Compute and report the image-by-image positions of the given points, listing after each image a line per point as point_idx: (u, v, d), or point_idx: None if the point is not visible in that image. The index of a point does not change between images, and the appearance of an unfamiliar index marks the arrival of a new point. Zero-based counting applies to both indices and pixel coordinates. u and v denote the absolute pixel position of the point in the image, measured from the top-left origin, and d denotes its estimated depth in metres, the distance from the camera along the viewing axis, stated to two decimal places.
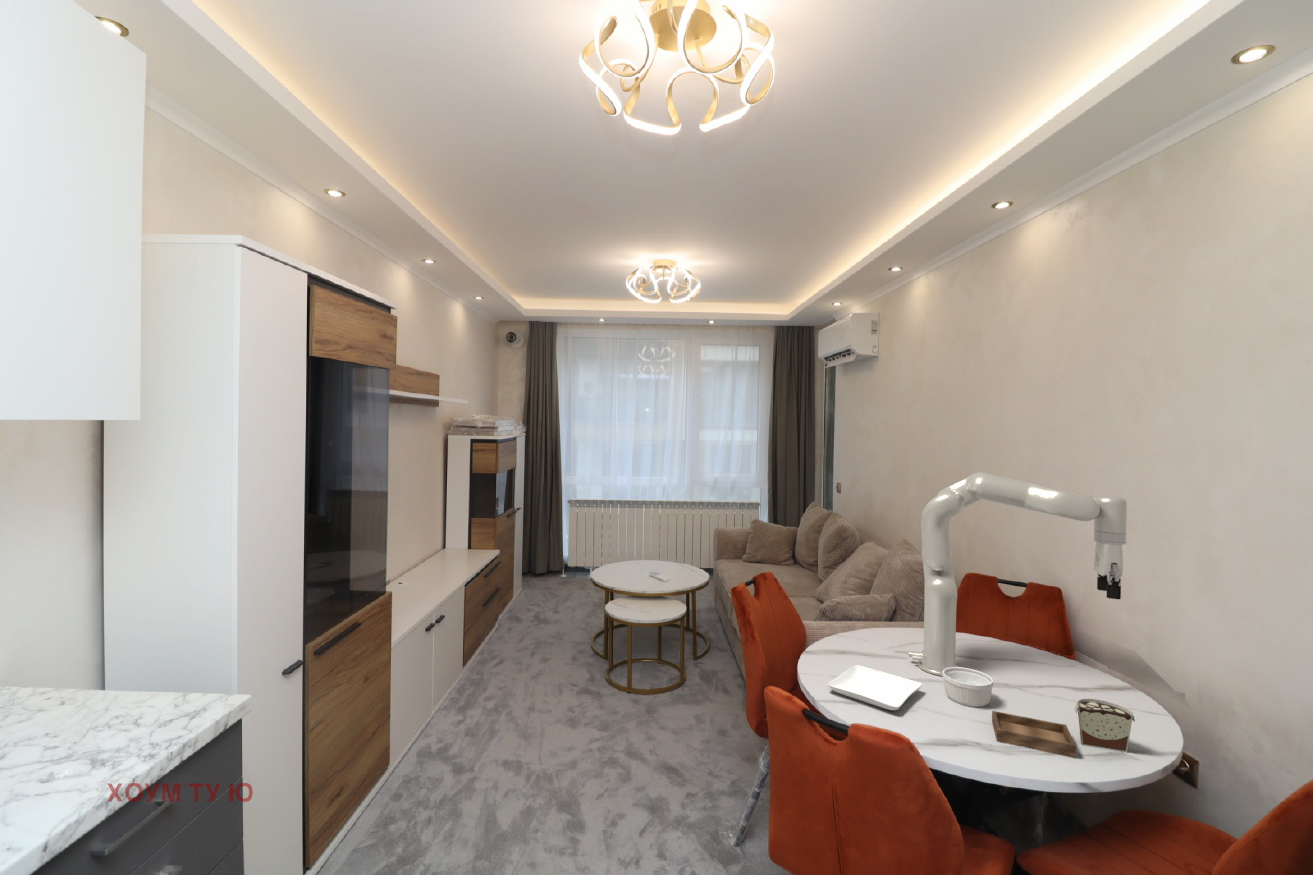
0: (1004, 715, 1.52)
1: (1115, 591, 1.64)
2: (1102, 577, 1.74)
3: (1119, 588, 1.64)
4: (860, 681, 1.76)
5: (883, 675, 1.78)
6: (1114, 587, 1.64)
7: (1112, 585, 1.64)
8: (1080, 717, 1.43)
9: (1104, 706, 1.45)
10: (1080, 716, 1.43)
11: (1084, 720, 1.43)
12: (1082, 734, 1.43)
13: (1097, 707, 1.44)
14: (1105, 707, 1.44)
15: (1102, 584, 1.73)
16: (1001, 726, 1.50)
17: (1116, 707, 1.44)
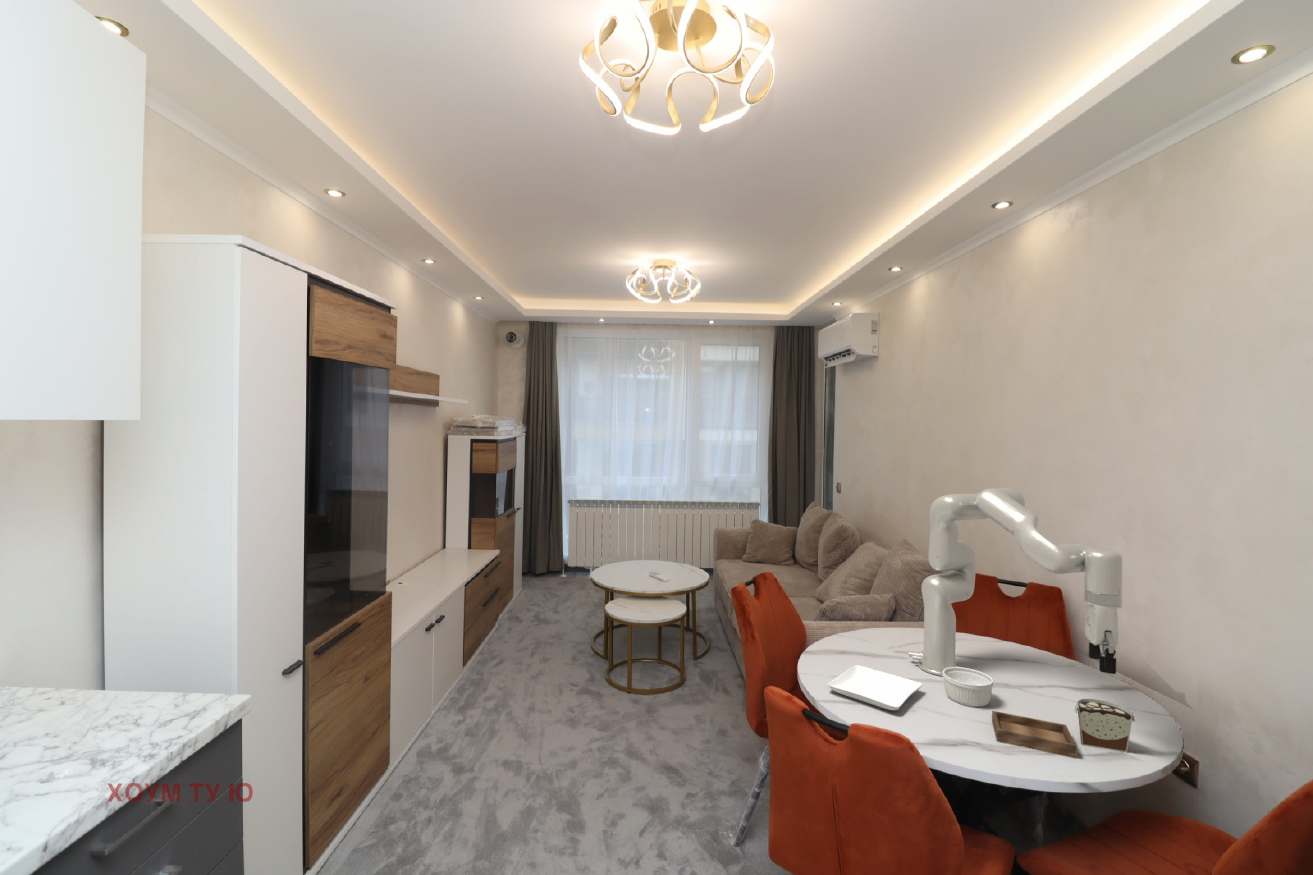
0: (1004, 715, 1.52)
1: (1109, 664, 1.39)
2: None
3: (1114, 661, 1.39)
4: (860, 681, 1.76)
5: (883, 675, 1.78)
6: (1108, 659, 1.39)
7: (1106, 657, 1.39)
8: (1080, 717, 1.43)
9: (1104, 706, 1.45)
10: (1080, 716, 1.43)
11: (1084, 720, 1.43)
12: (1082, 734, 1.43)
13: (1097, 707, 1.44)
14: (1105, 707, 1.44)
15: (1094, 652, 1.48)
16: (1001, 726, 1.50)
17: (1116, 707, 1.44)
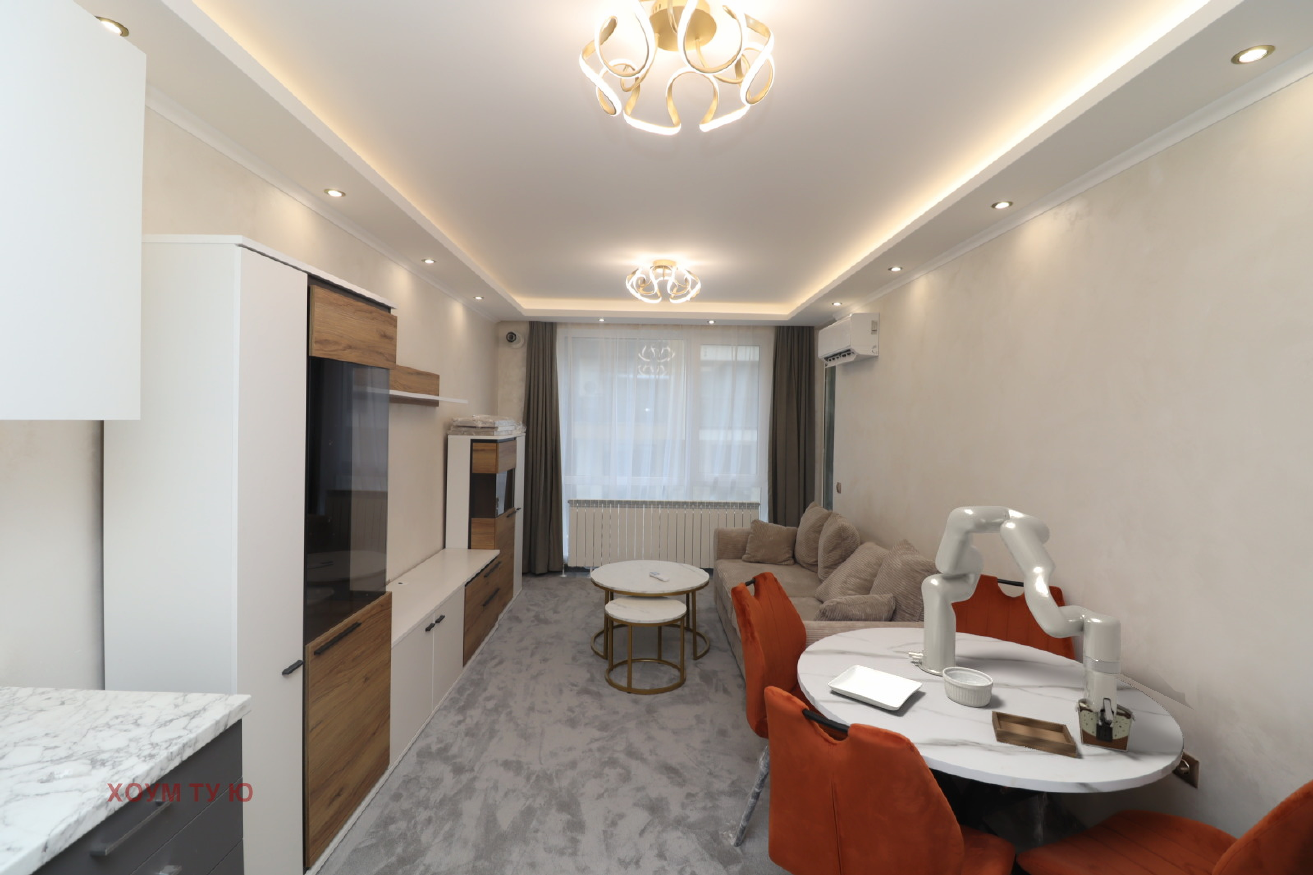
0: (1004, 715, 1.52)
1: (1106, 733, 1.40)
2: None
3: (1111, 729, 1.40)
4: (860, 681, 1.76)
5: (883, 675, 1.78)
6: (1105, 728, 1.40)
7: (1102, 726, 1.40)
8: (1080, 716, 1.43)
9: None
10: (1080, 715, 1.43)
11: (1084, 719, 1.43)
12: (1082, 733, 1.43)
13: None
14: None
15: None
16: (1001, 726, 1.50)
17: None
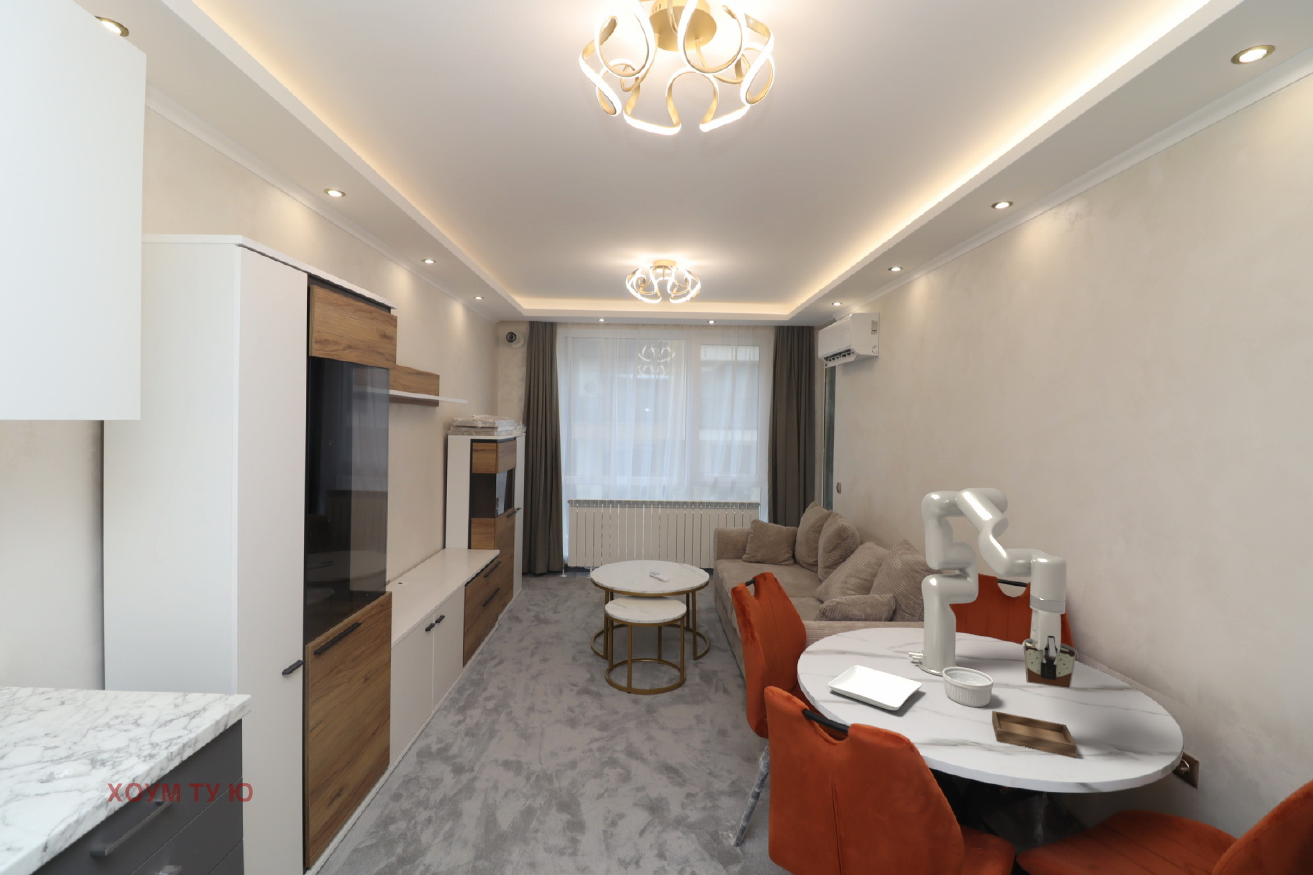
0: (1004, 715, 1.52)
1: (1050, 671, 1.42)
2: None
3: (1054, 667, 1.42)
4: (860, 681, 1.76)
5: (883, 675, 1.78)
6: (1049, 666, 1.42)
7: (1046, 664, 1.42)
8: (1026, 655, 1.45)
9: None
10: (1025, 654, 1.45)
11: (1030, 658, 1.44)
12: (1027, 672, 1.45)
13: None
14: None
15: None
16: (1001, 726, 1.50)
17: (1061, 646, 1.45)
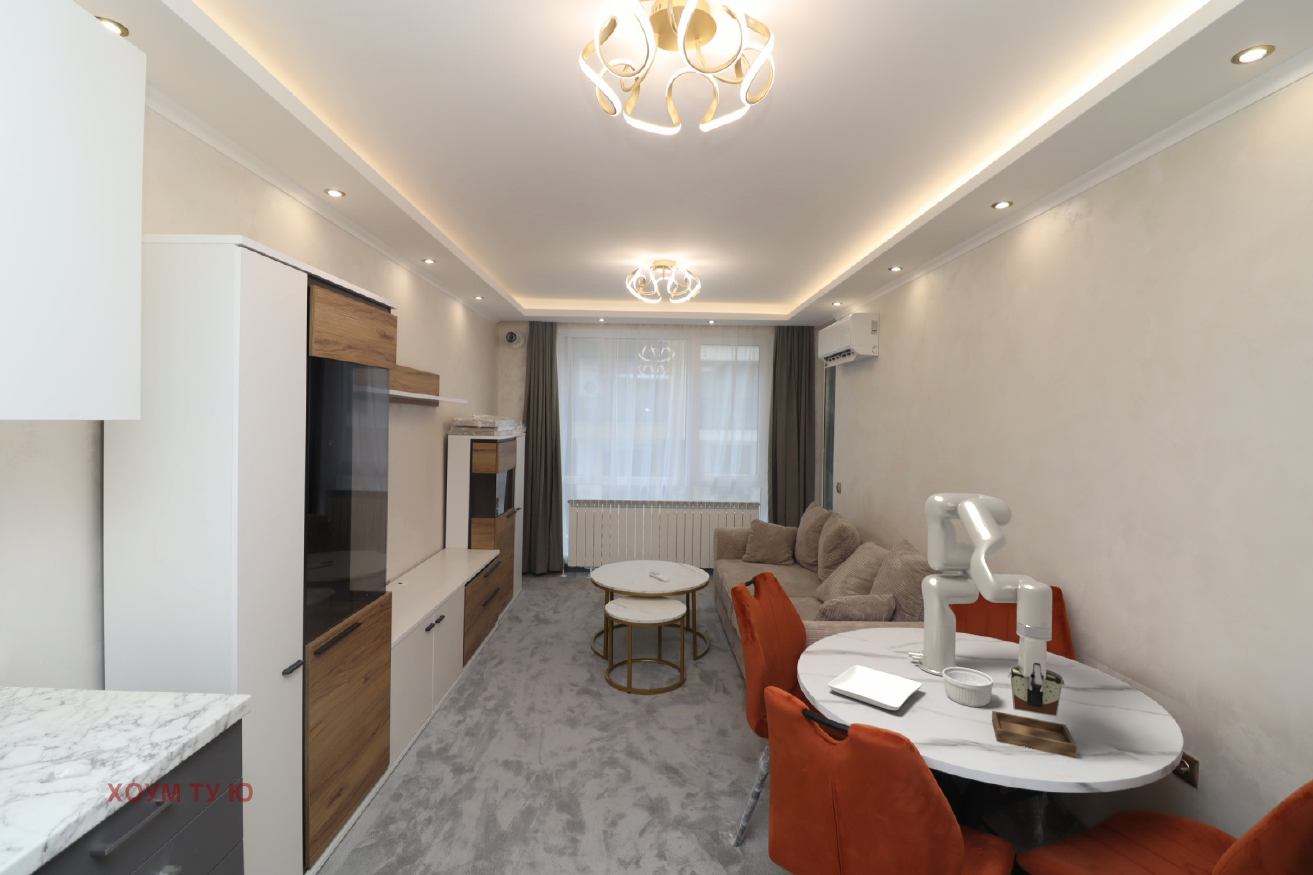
0: (1004, 715, 1.52)
1: (1036, 698, 1.42)
2: None
3: (1041, 694, 1.42)
4: (860, 681, 1.76)
5: (883, 675, 1.78)
6: (1035, 693, 1.42)
7: (1033, 691, 1.42)
8: (1012, 682, 1.45)
9: None
10: (1012, 681, 1.45)
11: (1016, 685, 1.44)
12: (1014, 699, 1.45)
13: None
14: None
15: None
16: (1001, 726, 1.50)
17: (1048, 672, 1.45)
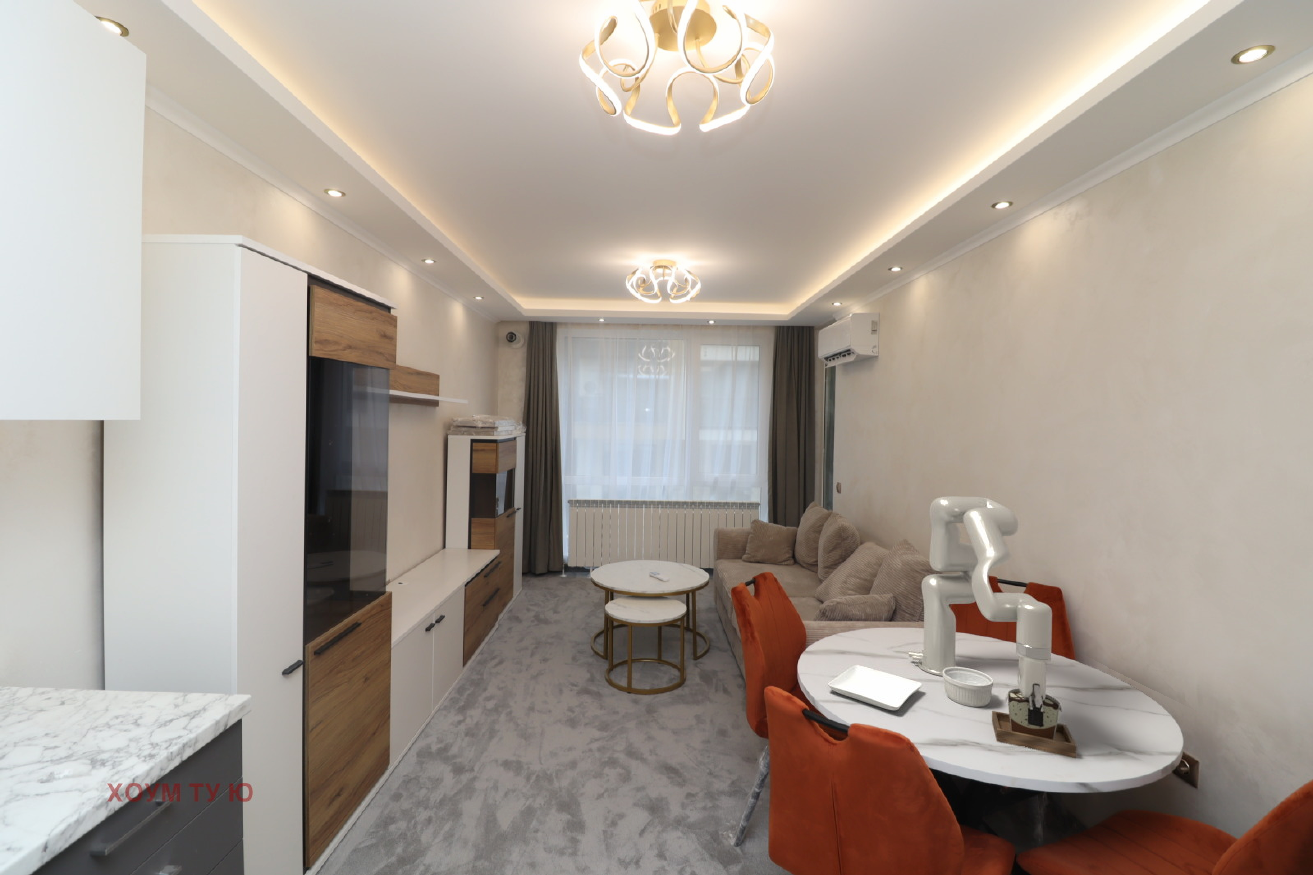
0: (1004, 715, 1.52)
1: (1037, 717, 1.40)
2: None
3: (1041, 714, 1.40)
4: (860, 681, 1.76)
5: (883, 675, 1.78)
6: (1036, 713, 1.40)
7: (1033, 710, 1.40)
8: (1009, 706, 1.46)
9: None
10: (1009, 706, 1.46)
11: (1013, 709, 1.46)
12: (1011, 723, 1.46)
13: (1027, 697, 1.46)
14: None
15: None
16: (1001, 726, 1.50)
17: (1046, 697, 1.46)
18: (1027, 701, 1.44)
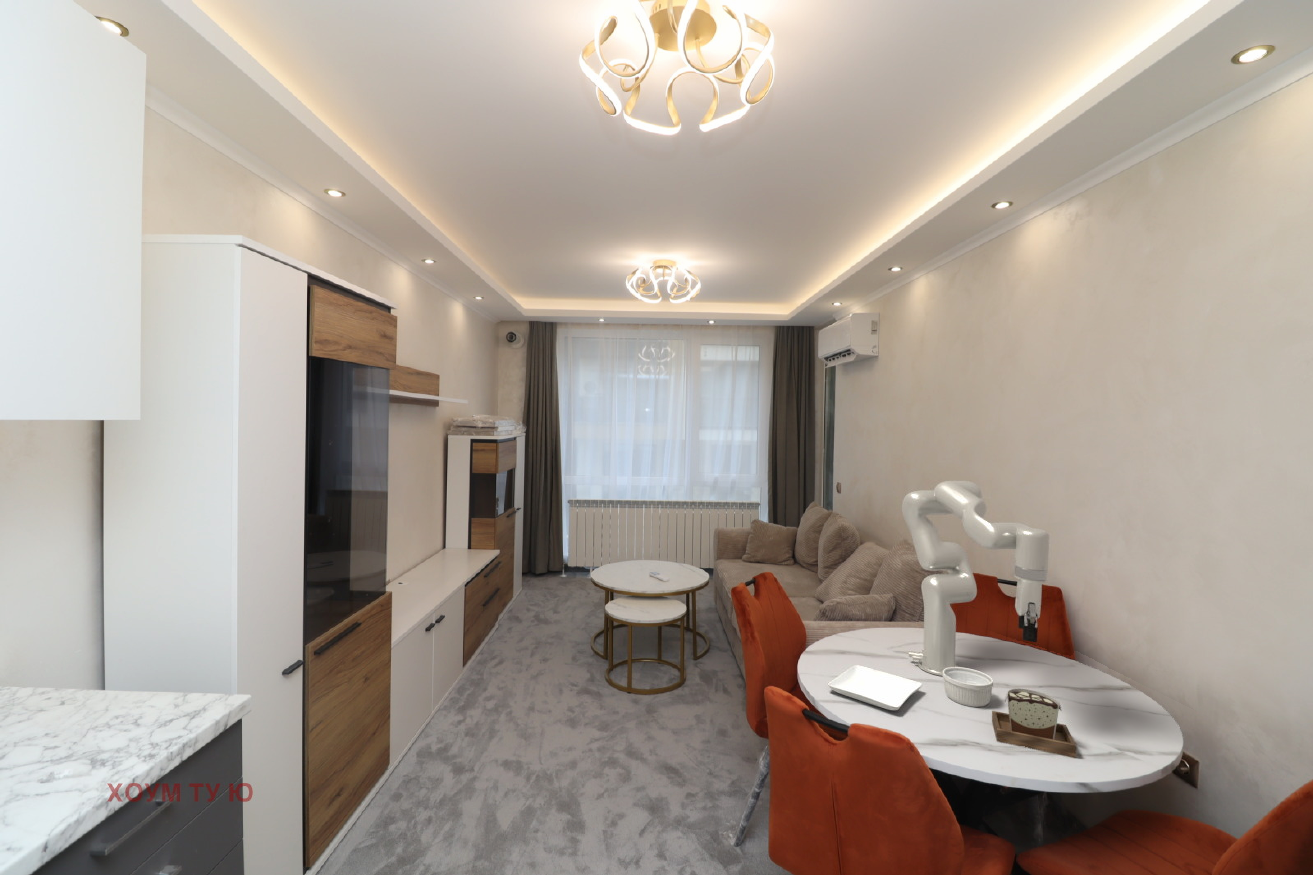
0: (1004, 715, 1.52)
1: (1031, 633, 1.50)
2: (1023, 615, 1.60)
3: (1036, 630, 1.50)
4: (860, 681, 1.76)
5: (883, 675, 1.78)
6: (1030, 629, 1.50)
7: (1028, 627, 1.51)
8: (1009, 706, 1.46)
9: (1035, 695, 1.48)
10: (1009, 705, 1.46)
11: (1013, 709, 1.46)
12: (1011, 723, 1.46)
13: (1027, 697, 1.47)
14: (1035, 697, 1.47)
15: (1023, 622, 1.60)
16: (1001, 726, 1.50)
17: (1046, 697, 1.46)
18: (1027, 700, 1.45)
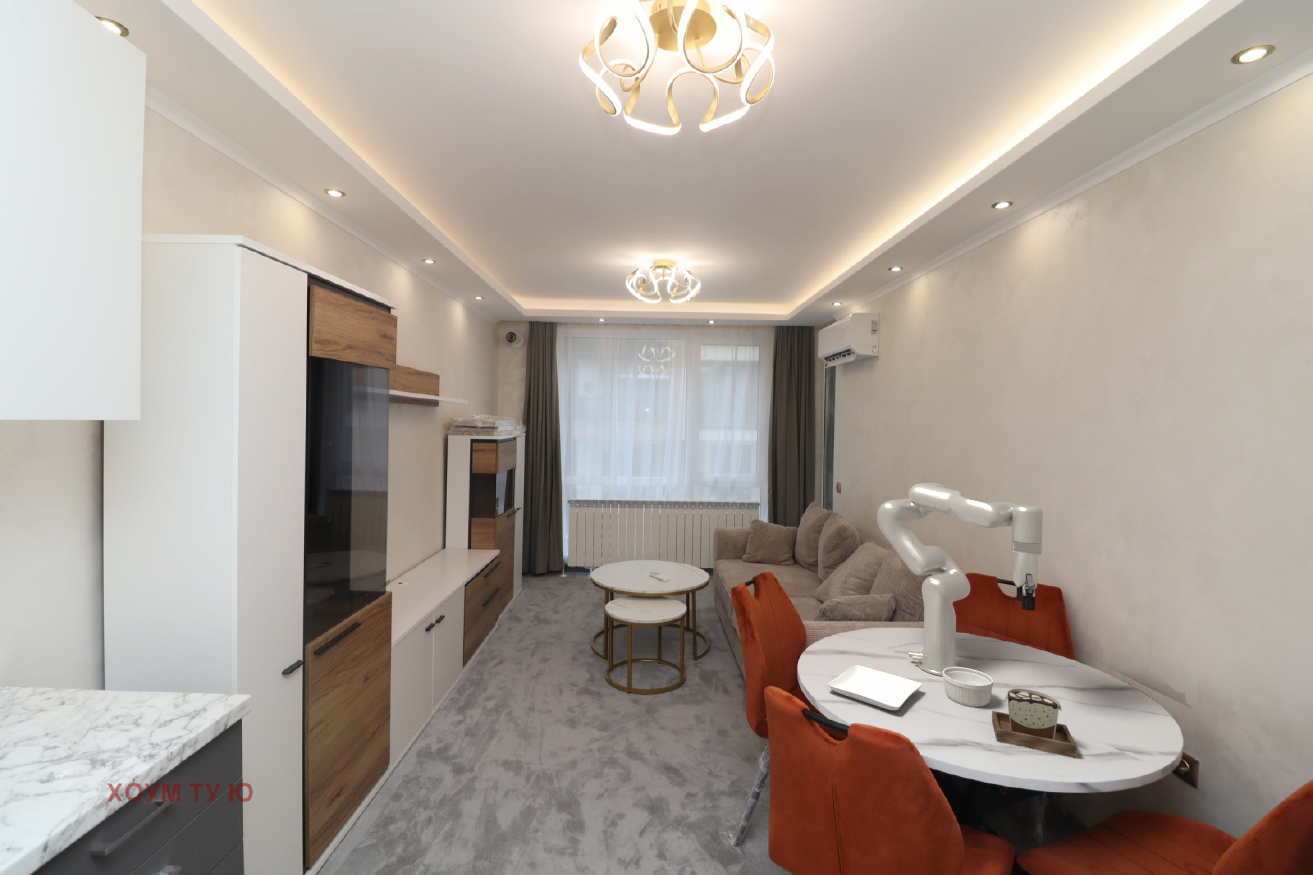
0: (1004, 715, 1.52)
1: (1029, 602, 1.61)
2: (1021, 587, 1.71)
3: (1033, 599, 1.61)
4: (860, 681, 1.76)
5: (883, 675, 1.78)
6: (1028, 598, 1.61)
7: (1026, 596, 1.61)
8: (1009, 706, 1.46)
9: (1035, 695, 1.48)
10: (1009, 705, 1.46)
11: (1013, 709, 1.46)
12: (1011, 723, 1.46)
13: (1027, 697, 1.47)
14: (1035, 697, 1.47)
15: (1021, 595, 1.71)
16: (1001, 726, 1.50)
17: (1046, 697, 1.46)
18: (1027, 700, 1.45)
